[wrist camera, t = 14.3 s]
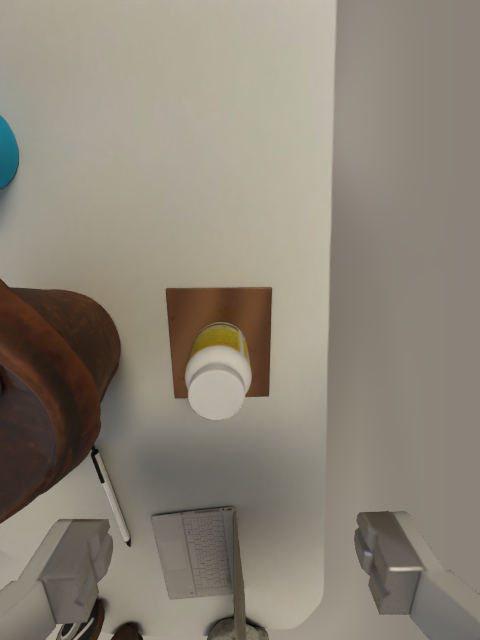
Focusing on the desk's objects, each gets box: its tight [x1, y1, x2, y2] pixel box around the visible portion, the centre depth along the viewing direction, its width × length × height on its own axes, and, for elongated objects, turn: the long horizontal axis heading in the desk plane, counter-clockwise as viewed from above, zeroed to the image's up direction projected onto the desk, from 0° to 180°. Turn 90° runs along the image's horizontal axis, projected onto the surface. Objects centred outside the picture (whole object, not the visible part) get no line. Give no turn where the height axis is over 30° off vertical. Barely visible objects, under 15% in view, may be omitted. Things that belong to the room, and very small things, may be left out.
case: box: [0, 279, 120, 524], centre depth 24 cm, size 18×20×18 cm
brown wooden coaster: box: [166, 287, 272, 398], centre depth 33 cm, size 12×14×1 cm
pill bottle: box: [185, 322, 252, 420], centre depth 27 cm, size 6×6×11 cm
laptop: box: [151, 507, 246, 640], centre depth 36 cm, size 18×12×13 cm
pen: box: [91, 445, 131, 547], centre depth 38 cm, size 1×19×1 cm, turn 9°
